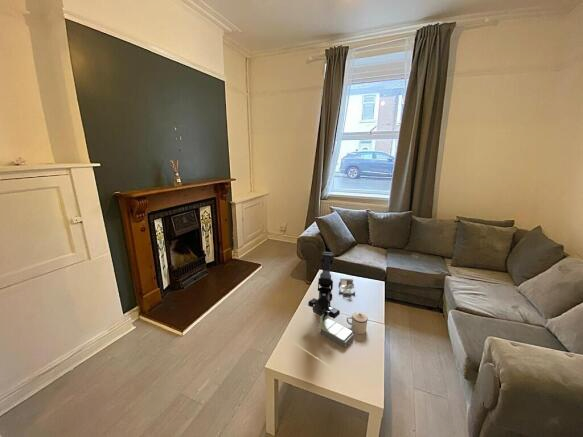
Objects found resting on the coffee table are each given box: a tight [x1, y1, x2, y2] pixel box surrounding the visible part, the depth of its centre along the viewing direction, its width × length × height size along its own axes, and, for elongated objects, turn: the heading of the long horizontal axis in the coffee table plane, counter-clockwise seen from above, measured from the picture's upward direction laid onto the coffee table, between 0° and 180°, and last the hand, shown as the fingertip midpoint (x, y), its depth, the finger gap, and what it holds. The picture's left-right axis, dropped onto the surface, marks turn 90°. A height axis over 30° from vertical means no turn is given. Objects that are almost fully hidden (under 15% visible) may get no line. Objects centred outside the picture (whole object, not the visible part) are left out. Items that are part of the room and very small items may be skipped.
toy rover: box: [338, 277, 356, 297], centre depth 190 cm, size 18×10×12 cm
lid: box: [318, 314, 353, 341], centre depth 141 cm, size 18×10×5 cm, turn 48°
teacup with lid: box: [346, 311, 369, 335], centre depth 147 cm, size 12×9×12 cm
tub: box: [320, 328, 355, 349], centre depth 141 cm, size 16×9×4 cm, turn 48°
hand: (322, 320), depth 147 cm, fingers closed on lid
